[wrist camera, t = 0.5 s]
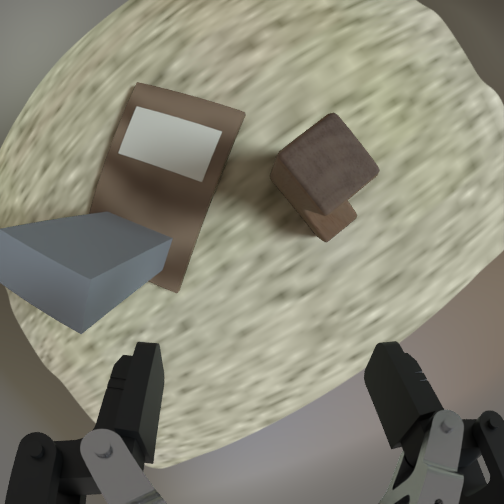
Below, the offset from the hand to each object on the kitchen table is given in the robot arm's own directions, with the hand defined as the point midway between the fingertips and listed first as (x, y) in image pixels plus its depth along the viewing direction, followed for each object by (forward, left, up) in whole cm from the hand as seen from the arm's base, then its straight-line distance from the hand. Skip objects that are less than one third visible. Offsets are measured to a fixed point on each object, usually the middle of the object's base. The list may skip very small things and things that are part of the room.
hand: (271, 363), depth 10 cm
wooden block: (-7, +2, -25) cm, 26 cm away
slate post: (+5, -15, -24) cm, 28 cm away
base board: (-2, -15, -25) cm, 29 cm away
